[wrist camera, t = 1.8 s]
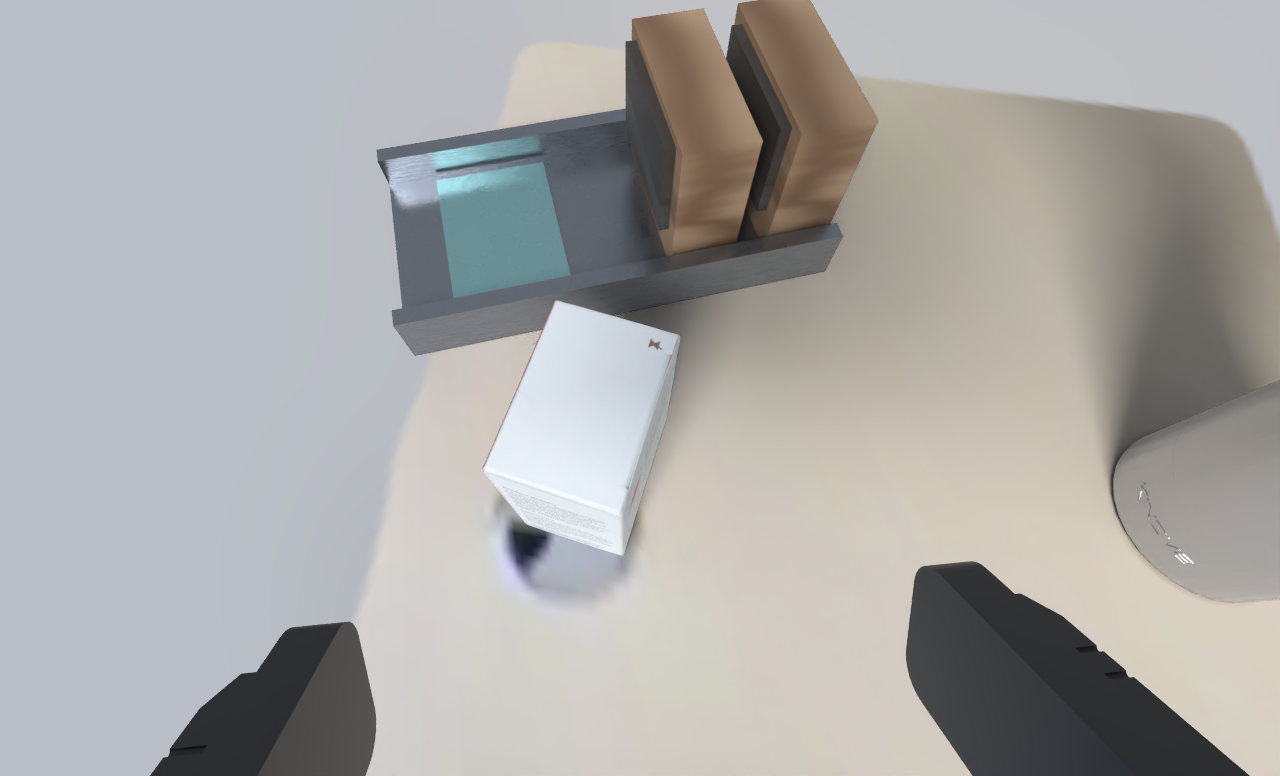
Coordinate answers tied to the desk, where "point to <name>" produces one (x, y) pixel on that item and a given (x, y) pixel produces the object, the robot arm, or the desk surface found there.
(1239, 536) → the robot arm
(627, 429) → the small box
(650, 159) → the twin brown uprights
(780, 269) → the grey shallow tray
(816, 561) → the desk surface
